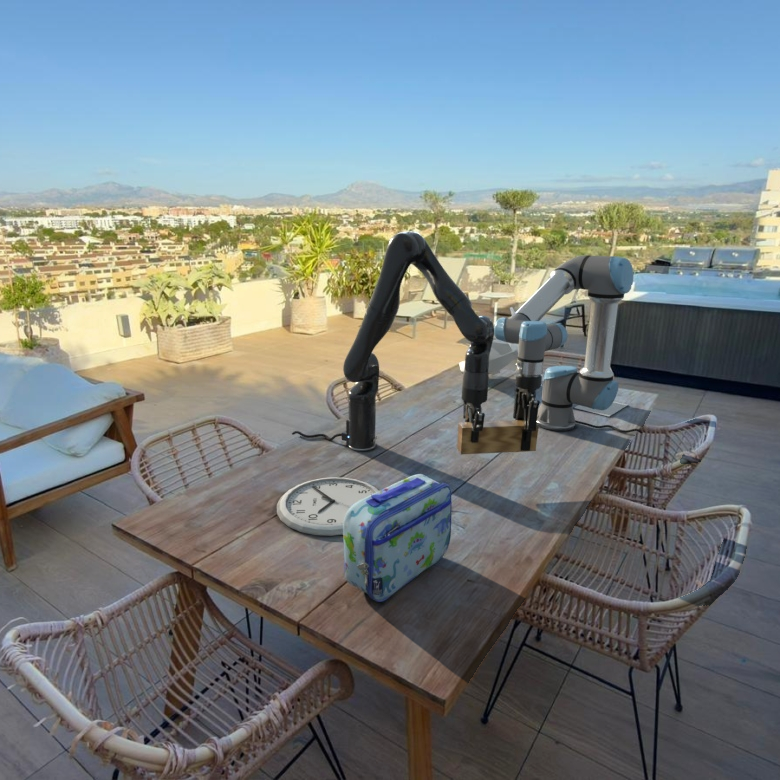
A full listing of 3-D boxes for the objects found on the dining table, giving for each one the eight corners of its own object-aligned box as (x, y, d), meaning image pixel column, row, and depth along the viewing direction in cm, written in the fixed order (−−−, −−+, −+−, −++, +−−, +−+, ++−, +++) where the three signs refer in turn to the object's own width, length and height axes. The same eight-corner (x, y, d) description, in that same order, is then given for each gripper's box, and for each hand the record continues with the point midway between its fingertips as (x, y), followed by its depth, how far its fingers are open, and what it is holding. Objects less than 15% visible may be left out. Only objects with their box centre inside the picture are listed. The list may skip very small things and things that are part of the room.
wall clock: (392, 527, 129) (268, 531, 127) (391, 533, 130) (269, 537, 127) (383, 473, 158) (282, 475, 155) (383, 478, 158) (282, 480, 156)
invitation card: (608, 416, 214) (573, 407, 224) (608, 416, 214) (573, 408, 224) (628, 404, 229) (594, 396, 238) (628, 405, 229) (594, 397, 238)
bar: (529, 445, 165) (532, 419, 162) (535, 451, 160) (538, 425, 158) (456, 448, 161) (458, 422, 159) (460, 454, 157) (462, 427, 154)
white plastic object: (480, 418, 266) (459, 395, 242) (461, 346, 288) (441, 318, 264) (550, 394, 254) (536, 368, 229) (526, 321, 276) (510, 289, 251)
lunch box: (371, 615, 102) (372, 521, 96) (337, 588, 110) (335, 499, 103) (455, 559, 120) (460, 477, 114) (420, 540, 127) (423, 461, 121)
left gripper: (456, 378, 160) (453, 430, 165) (469, 392, 146) (466, 448, 151) (480, 377, 161) (476, 429, 166) (495, 391, 147) (491, 447, 152)
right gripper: (506, 366, 163) (500, 436, 170) (528, 382, 146) (521, 459, 153) (529, 366, 164) (522, 435, 171) (554, 382, 147) (545, 457, 154)
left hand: (471, 438), depth 158 cm, fingers open, 5 cm apart
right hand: (521, 446), depth 162 cm, fingers closed on bar, 5 cm apart
